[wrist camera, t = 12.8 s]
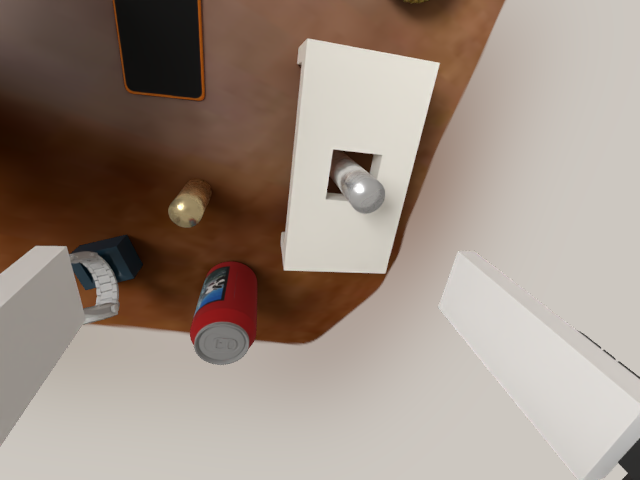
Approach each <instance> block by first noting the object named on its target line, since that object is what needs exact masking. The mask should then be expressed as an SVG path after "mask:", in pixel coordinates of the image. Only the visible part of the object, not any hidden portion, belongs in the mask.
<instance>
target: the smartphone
mask: <svg viewBox="0 0 640 480" xmlns="http://www.w3.org/2000/svg"><path fill="white" fill-rule="evenodd" d="M113 6H114V13H115V20H116V27H117V34H118V42H119V49H120V56H121V63H122V70H123V77H124V84H125V88H126V90H127V91H128V92H129V93H132V94H140V95H149V96H159V97H169V98H178V99H187V100H197V101H200V100H203V99H204V97H205V86H204V64H203V41H202V18H201V0H113Z"/></svg>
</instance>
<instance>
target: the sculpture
mask: <svg viewBox="0 0 640 480" xmlns="http://www.w3.org/2000/svg"><path fill="white" fill-rule="evenodd" d="M403 1H404V2H410V3H421V2H426V1H429V0H403Z"/></svg>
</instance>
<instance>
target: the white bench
mask: <svg viewBox="0 0 640 480" xmlns="http://www.w3.org/2000/svg"><path fill="white" fill-rule="evenodd" d="M297 64H298V65H302V66H301V76H300V86H299V97H298V107H297V117H296V127H295V138H294V148H293V158H292V168H291V178H290V189H289V199H288V209H287V219H286V229H285V232H282V233H281V250H282V259H283V267H284V270H289V271H320V272H351V273H382V274H385V273H386V269H387V265H388V261H389V258H390V254H391V250H392V246H393V242H394V238H395V234H396V231H397V227H398V223H399V219H400V215H401V211H402V207H403V204H404V200H405V196H406V192H407V188H408V184H409V180H410V176H411V173H412V169H413V165H414V161H415V157H416V153H417V149H418V146H419V142H420V138H421V134H422V130H423V126H424V122H425V118H426V115H427V111H428V107H429V103H430V99H431V95H432V91H433V88H434V84H435V80H436V76H437V72H438V68H439V64H440V63H437V62H432V61H427V60H421V59H416V58H410V57H405V56H400V55H394V54H389V53H383V52H378V51H373V50H367V49H362V48H356V47H351V46H346V45H340V44H335V43H330V42H324V41H319V40H313V39H308V38H307V39H306V40H305V41H304V42H303V44H302V45H301V46H300V47H299V49H298V60H297ZM333 149H334V150H343V151H352V152H360V153H369V154H374V155H373V160H372V165H371V170H370V175H372V176H373V177H374V178H375V179H376V180H378V181H379V182H380V183H381V184H382V185H383V187H384V189H385V199H384V202H383V204H382V205H381V206H380V208H379V209H377V210H376V211H374V212H372V213H367V214H364V213H360V212H358V211H356V210H355V209H354V208H353V207H352V205H351V204H350V203H349V201H348V200H347V198H346V197H345V196H344V194H337V193H327V187H328V181H329V174H330V167H331V160H332V154H333Z"/></svg>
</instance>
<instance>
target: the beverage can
mask: <svg viewBox="0 0 640 480" xmlns="http://www.w3.org/2000/svg"><path fill="white" fill-rule="evenodd" d="M256 326H257V278H256V275H255V274H254V272H253V271H252V270H251V269H250V268H249V267H248V266H246V265H244V264H242V263H239V262H223V263H220V264H218V265H216V266H214V267H213V268H212V269H211V270H210V271H209V272H208V274H207V275H206V278H205V281H204V284H203V287H202V291H201V294H200V297H199V301H198V304H197V307H196V311H195V314H194V318H193V322H192V325H191V329H190V337H191V340H192V343H193V344H194V348H195V351H196V353H197V354H198V356H199V357H200V358H201V359H203V360H204V361H207V362H209V363H212V364H218V365H224V364H230V363H233V362H235V361H238V360H239V359H241V358H242V357H243V356H244V355H245V354H246V352H247V351H248V349H249V347H250V346H251V345H252V343H253V342H254V340H255V337H256Z"/></svg>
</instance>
